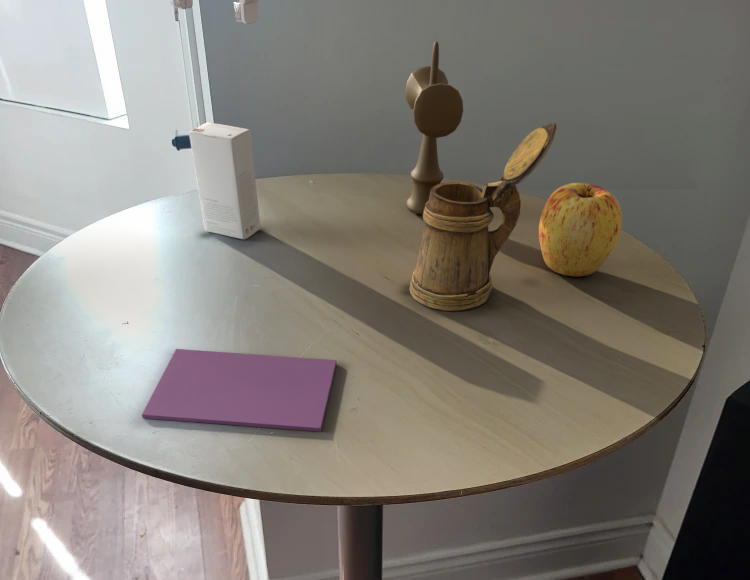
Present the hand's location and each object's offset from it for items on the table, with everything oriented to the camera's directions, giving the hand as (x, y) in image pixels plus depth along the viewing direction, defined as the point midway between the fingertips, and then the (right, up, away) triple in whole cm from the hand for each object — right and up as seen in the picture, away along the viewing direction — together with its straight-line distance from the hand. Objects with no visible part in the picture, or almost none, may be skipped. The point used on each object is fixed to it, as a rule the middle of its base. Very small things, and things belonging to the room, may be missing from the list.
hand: (213, 14), depth 79 cm
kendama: (+23, -11, +25) cm, 36 cm away
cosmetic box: (-2, -16, +19) cm, 24 cm away
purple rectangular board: (+4, -39, -7) cm, 40 cm away
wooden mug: (+27, -26, +8) cm, 39 cm away
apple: (+40, -23, +13) cm, 47 cm away
